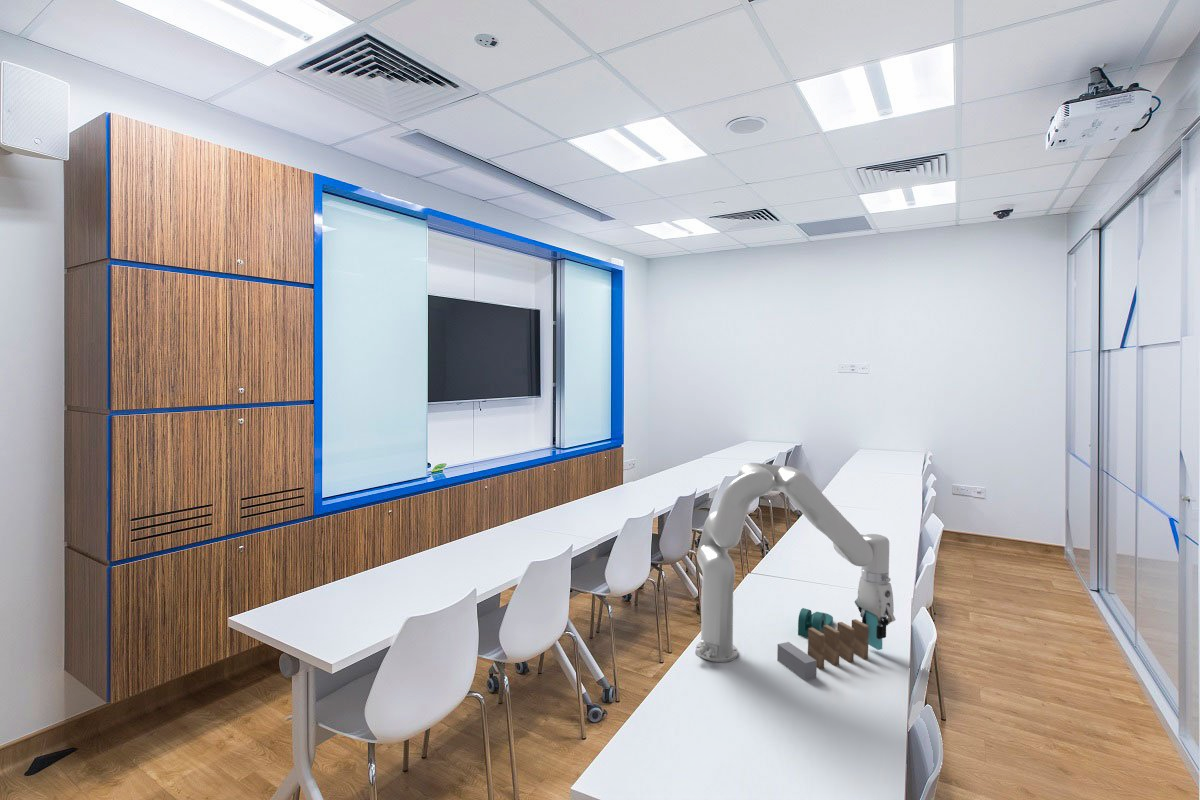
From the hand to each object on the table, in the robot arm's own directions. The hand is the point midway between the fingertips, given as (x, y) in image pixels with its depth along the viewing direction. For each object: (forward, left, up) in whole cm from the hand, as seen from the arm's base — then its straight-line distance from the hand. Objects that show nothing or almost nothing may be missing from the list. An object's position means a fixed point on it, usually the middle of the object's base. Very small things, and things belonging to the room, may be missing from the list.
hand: (873, 633), depth 177 cm
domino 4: (-5, +3, -6) cm, 8 cm away
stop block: (-25, +15, -6) cm, 30 cm away
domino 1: (-19, +11, -6) cm, 23 cm away
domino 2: (-14, +8, -6) cm, 18 cm away
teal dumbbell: (+6, +19, -6) cm, 21 cm away
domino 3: (-10, +6, -6) cm, 13 cm away
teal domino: (0, 0, -4) cm, 4 cm away
